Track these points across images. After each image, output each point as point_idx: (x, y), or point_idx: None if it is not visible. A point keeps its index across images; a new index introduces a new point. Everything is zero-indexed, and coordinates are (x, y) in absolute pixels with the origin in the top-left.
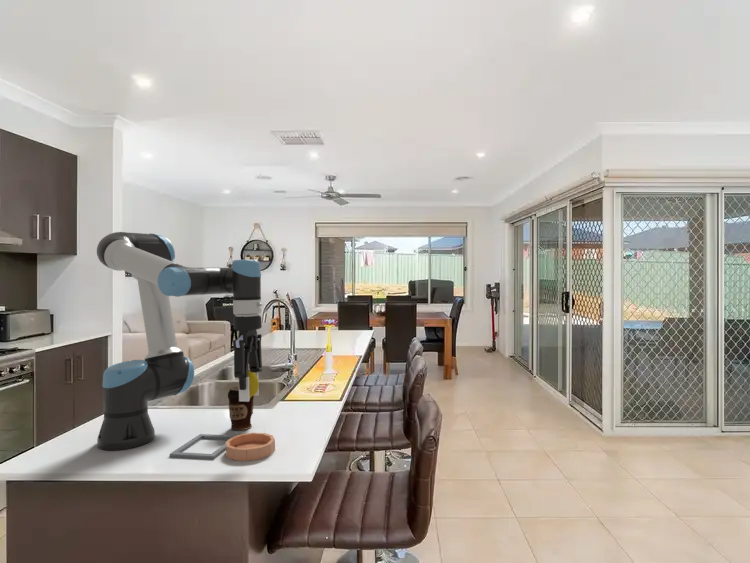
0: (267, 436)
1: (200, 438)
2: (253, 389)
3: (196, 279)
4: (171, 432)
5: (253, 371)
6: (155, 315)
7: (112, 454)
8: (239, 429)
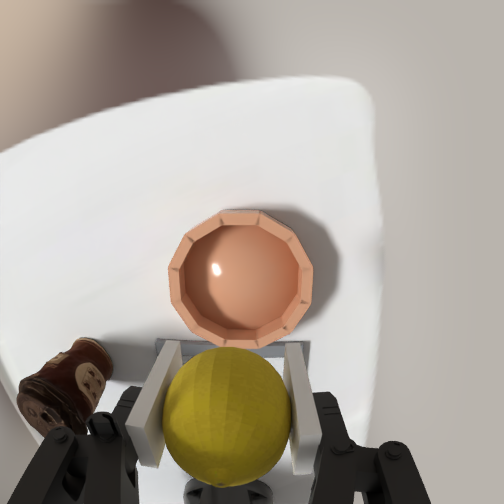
0: (189, 250)
1: None
2: (266, 363)
3: None
4: (168, 463)
5: (134, 452)
6: None
7: (286, 486)
8: (110, 359)
